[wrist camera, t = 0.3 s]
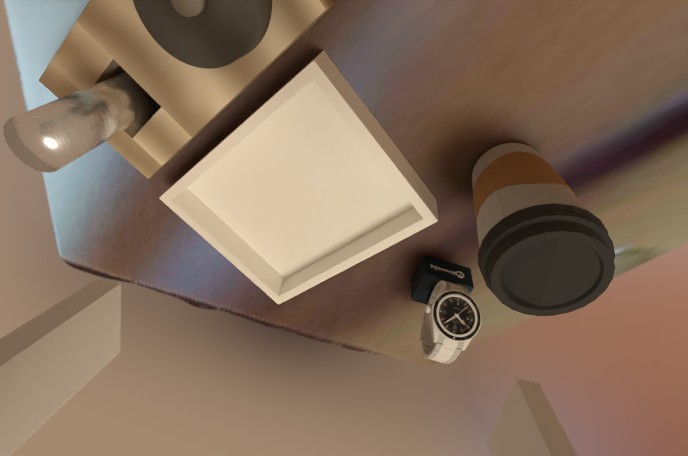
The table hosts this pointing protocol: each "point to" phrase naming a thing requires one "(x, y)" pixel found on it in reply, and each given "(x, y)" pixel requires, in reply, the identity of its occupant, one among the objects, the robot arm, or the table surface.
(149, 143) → the tensioner plate
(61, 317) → the robot arm
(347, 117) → the tray
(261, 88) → the table surface
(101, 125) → the lock pin
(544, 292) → the coffee cup
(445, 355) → the watch
